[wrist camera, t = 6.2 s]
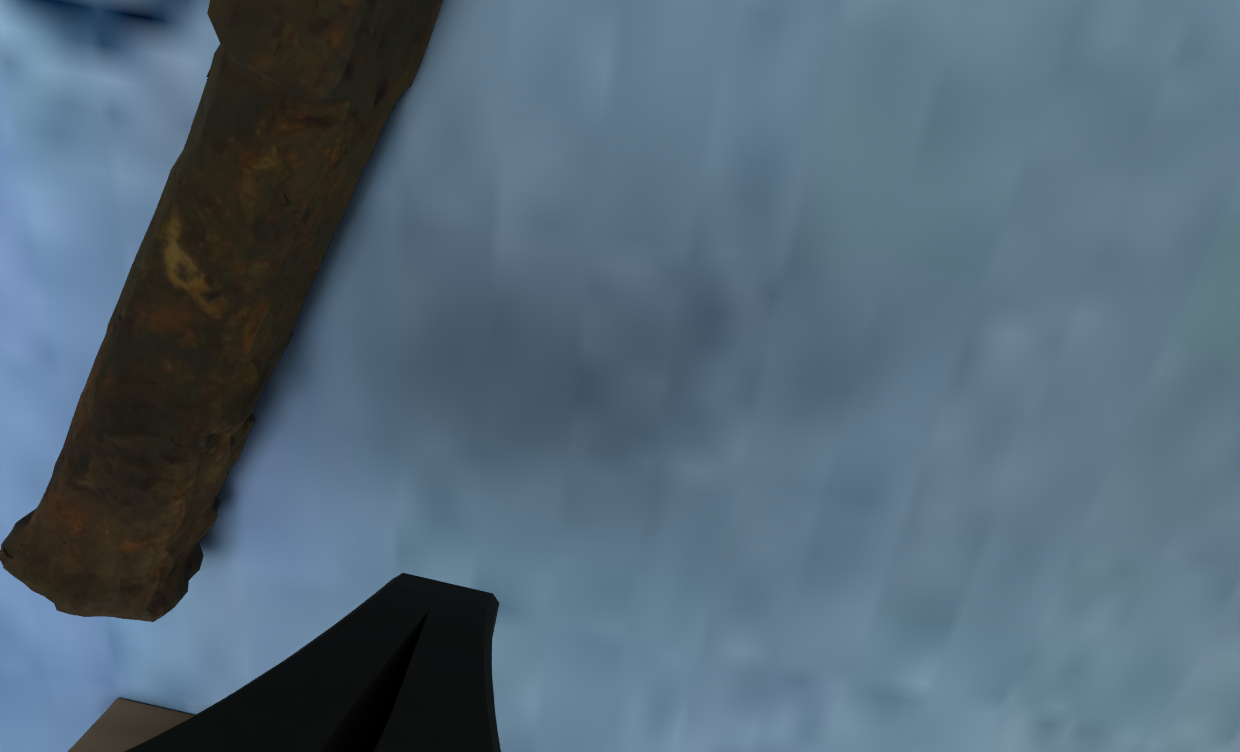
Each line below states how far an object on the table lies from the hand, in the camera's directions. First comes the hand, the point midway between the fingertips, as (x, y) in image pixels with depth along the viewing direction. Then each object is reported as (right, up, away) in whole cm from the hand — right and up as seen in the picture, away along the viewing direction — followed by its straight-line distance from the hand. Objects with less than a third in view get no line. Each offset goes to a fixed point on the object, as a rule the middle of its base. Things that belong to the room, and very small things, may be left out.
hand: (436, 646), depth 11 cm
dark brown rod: (-6, +8, +8) cm, 13 cm away
